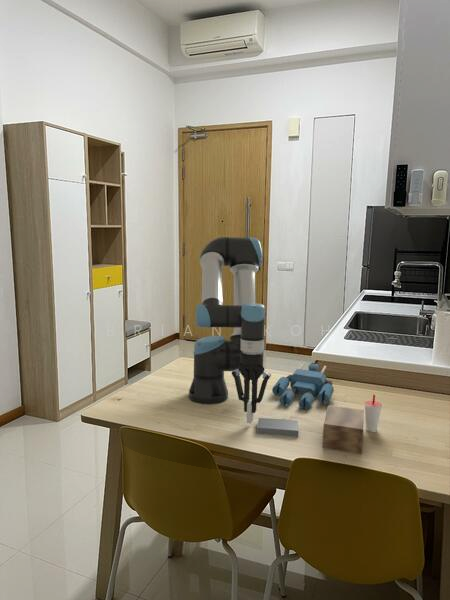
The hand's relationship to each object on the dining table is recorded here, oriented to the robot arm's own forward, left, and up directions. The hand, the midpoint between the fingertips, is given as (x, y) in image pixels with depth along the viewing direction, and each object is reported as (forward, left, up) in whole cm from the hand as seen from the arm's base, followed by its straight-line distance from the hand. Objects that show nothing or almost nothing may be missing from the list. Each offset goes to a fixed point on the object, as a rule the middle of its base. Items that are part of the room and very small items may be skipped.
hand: (249, 421), depth 149 cm
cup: (+38, +11, -2) cm, 40 cm away
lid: (+9, 0, -2) cm, 10 cm away
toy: (+13, +35, -2) cm, 38 cm away
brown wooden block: (+29, 0, -2) cm, 29 cm away
